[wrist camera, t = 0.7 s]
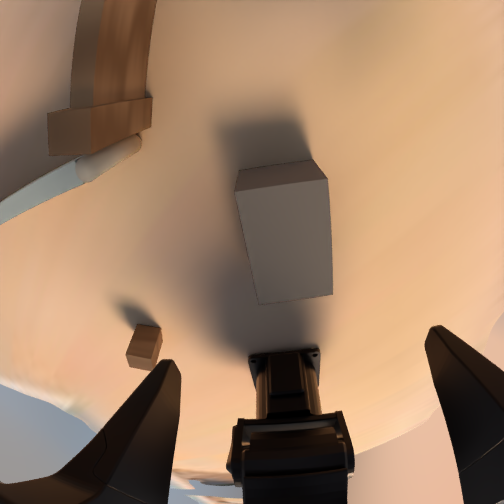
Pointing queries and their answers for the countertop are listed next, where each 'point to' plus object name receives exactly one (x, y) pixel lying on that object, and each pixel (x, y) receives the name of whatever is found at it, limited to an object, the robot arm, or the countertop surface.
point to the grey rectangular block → (287, 230)
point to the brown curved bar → (109, 104)
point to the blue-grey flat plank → (67, 177)
